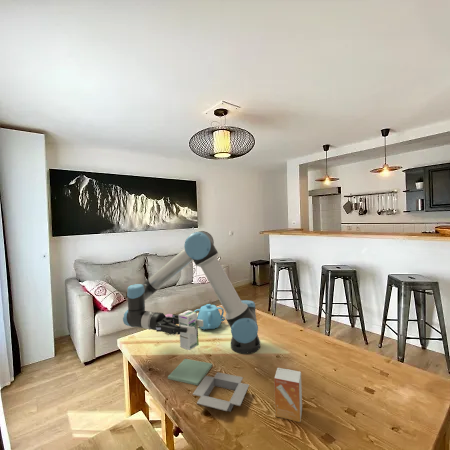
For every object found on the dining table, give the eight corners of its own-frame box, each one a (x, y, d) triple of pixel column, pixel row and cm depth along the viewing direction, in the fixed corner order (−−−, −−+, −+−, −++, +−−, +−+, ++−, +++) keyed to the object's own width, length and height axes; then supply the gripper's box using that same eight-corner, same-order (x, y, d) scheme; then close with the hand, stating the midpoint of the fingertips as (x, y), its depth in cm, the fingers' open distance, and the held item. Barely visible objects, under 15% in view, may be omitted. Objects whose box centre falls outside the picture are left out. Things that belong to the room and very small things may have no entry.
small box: (275, 417, 82) (273, 377, 82) (278, 403, 88) (277, 366, 88) (301, 423, 79) (299, 382, 79) (302, 408, 85) (301, 371, 85)
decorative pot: (190, 327, 155) (189, 305, 154) (210, 318, 166) (209, 298, 166) (207, 334, 143) (206, 311, 143) (227, 325, 154) (226, 303, 154)
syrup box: (189, 351, 104) (188, 316, 104) (179, 347, 108) (178, 313, 107) (198, 345, 108) (197, 312, 108) (189, 341, 112) (187, 309, 112)
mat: (185, 360, 117) (185, 358, 117) (212, 365, 112) (212, 363, 112) (167, 378, 104) (167, 376, 104) (197, 385, 99) (197, 383, 99)
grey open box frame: (209, 377, 104) (209, 370, 104) (251, 386, 97) (251, 378, 97) (188, 409, 87) (187, 400, 87) (237, 422, 80) (236, 413, 80)
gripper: (166, 320, 124) (209, 326, 115) (139, 338, 105) (187, 346, 97) (166, 305, 123) (208, 310, 115) (138, 321, 105) (186, 327, 97)
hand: (198, 326), depth 106 cm, fingers closed on syrup box, 7 cm apart
